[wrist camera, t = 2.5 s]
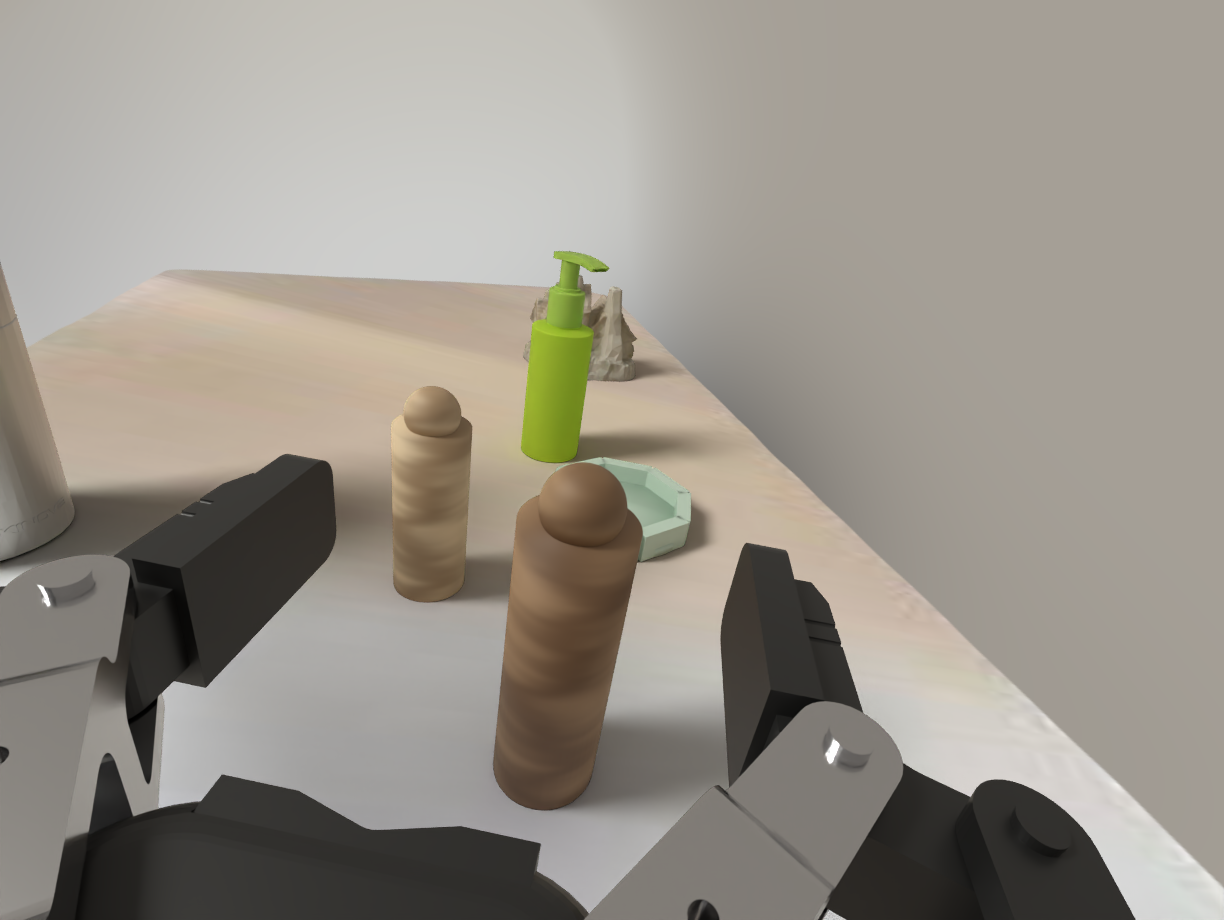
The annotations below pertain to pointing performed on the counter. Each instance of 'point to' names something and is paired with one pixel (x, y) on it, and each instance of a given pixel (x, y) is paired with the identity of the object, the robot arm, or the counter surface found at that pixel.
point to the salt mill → (430, 495)
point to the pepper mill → (563, 633)
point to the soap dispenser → (559, 367)
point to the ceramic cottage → (601, 334)
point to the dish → (652, 505)
